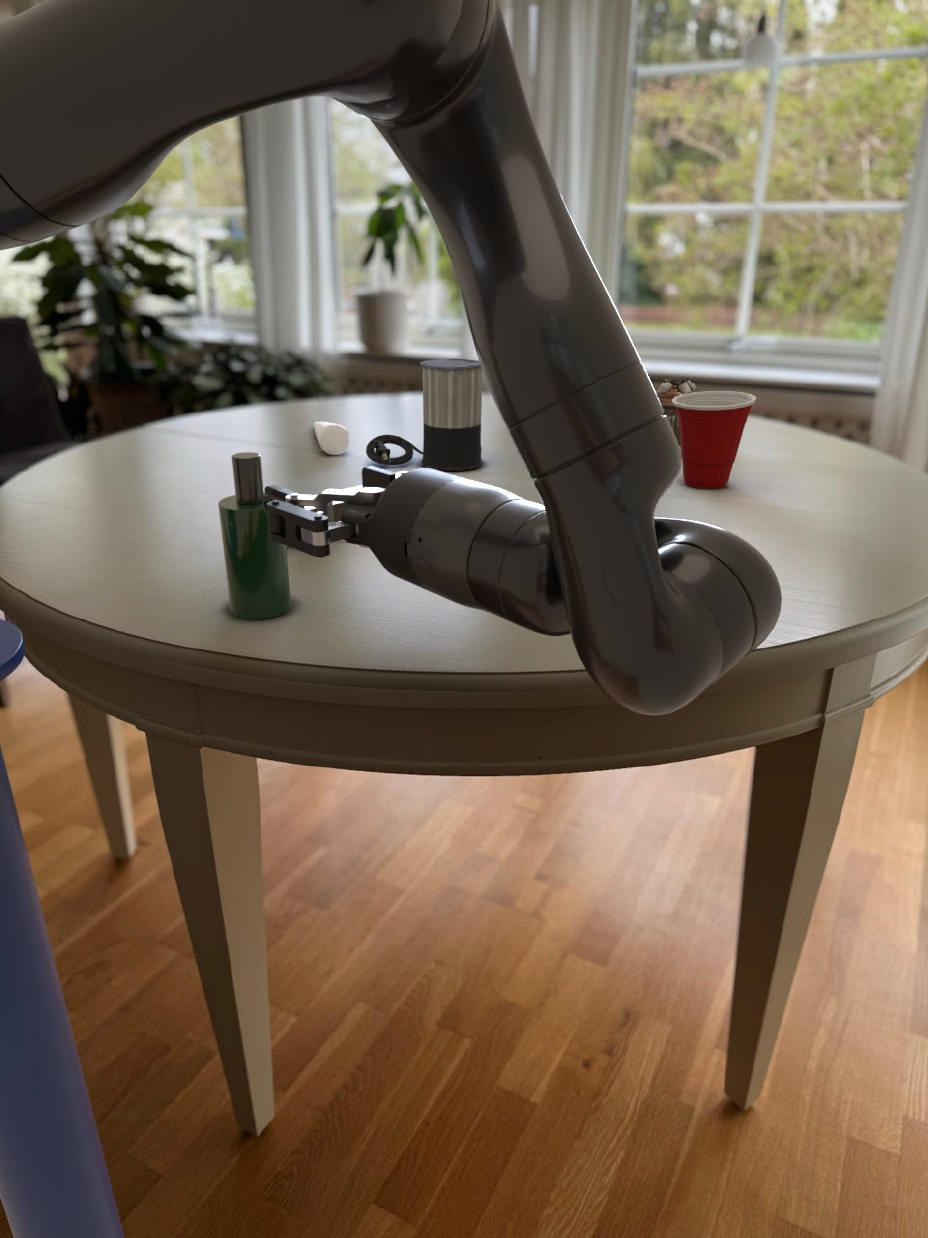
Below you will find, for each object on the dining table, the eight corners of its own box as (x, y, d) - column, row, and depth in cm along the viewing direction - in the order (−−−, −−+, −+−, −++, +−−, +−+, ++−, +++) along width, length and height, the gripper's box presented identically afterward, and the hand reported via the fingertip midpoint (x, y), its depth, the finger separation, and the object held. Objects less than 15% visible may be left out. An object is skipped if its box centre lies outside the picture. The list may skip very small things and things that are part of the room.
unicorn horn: (336, 425, 154) (335, 398, 152) (351, 455, 133) (349, 424, 131) (310, 426, 153) (308, 399, 151) (320, 457, 132) (318, 426, 130)
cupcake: (648, 444, 141) (653, 382, 137) (643, 432, 150) (649, 374, 146) (707, 446, 140) (714, 383, 136) (699, 434, 149) (706, 375, 145)
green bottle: (248, 624, 74) (231, 465, 69) (219, 606, 78) (201, 454, 72) (302, 608, 78) (290, 455, 72) (272, 592, 81) (258, 445, 76)
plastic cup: (651, 475, 122) (659, 390, 117) (720, 472, 124) (731, 387, 119) (684, 496, 112) (694, 403, 108) (759, 492, 115) (772, 400, 110)
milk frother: (495, 467, 127) (497, 363, 121) (400, 481, 119) (397, 371, 113) (446, 448, 138) (445, 353, 132) (357, 460, 130) (352, 359, 124)
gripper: (540, 462, 56) (392, 426, 68) (364, 502, 48) (227, 453, 59) (537, 569, 59) (395, 517, 71) (370, 624, 51) (239, 556, 62)
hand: (319, 488), depth 65 cm, fingers open, 8 cm apart
